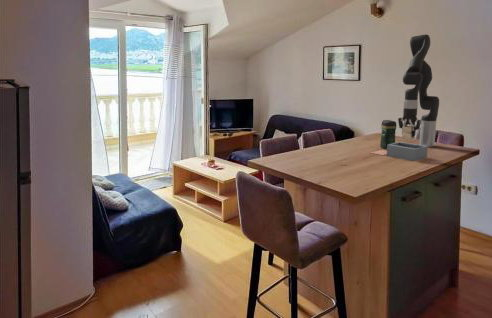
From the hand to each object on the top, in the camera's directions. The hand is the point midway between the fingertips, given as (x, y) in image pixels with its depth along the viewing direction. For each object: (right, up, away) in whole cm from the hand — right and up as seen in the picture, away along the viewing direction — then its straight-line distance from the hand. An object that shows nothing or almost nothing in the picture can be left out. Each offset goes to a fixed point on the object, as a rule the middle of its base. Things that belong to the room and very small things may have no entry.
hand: (408, 135), depth 244 cm
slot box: (0, -12, +3) cm, 13 cm away
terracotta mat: (-11, -10, +13) cm, 20 cm away
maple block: (0, -1, 0) cm, 1 cm away
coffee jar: (-3, -7, +28) cm, 29 cm away
